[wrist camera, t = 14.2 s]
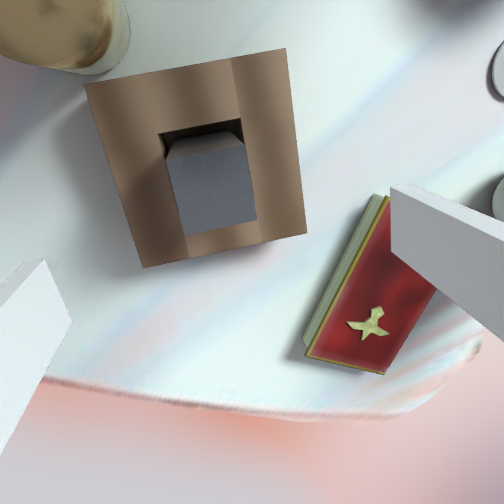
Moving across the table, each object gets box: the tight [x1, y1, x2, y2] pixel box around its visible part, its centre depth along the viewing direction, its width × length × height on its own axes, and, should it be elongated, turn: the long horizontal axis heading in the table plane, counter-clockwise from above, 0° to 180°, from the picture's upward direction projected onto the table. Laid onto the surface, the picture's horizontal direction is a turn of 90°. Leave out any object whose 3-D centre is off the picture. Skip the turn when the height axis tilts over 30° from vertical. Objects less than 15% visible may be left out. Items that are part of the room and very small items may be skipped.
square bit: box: [166, 128, 258, 235], centre depth 30 cm, size 5×5×14 cm
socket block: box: [84, 48, 307, 268], centre depth 35 cm, size 16×16×6 cm
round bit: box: [0, 0, 130, 75], centre depth 26 cm, size 8×8×12 cm
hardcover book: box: [302, 193, 437, 375], centre depth 45 cm, size 12×21×4 cm, turn 159°
